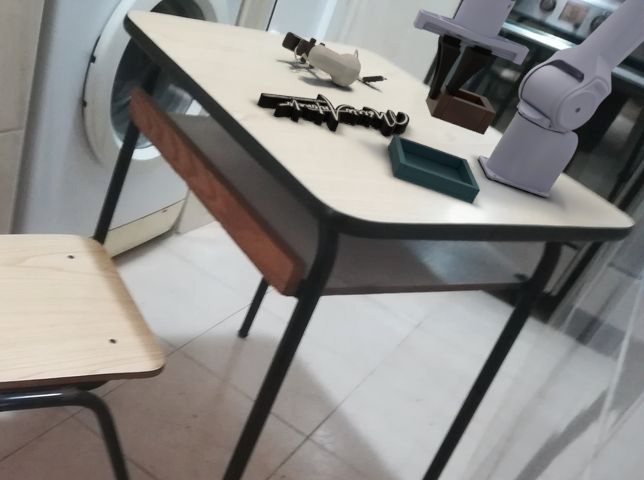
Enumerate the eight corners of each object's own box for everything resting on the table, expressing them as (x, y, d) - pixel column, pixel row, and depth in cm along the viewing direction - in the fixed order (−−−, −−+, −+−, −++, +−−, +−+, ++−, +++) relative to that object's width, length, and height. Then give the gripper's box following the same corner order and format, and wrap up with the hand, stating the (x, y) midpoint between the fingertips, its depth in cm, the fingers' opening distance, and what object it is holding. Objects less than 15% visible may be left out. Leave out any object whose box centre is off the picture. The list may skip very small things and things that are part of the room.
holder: (459, 172, 97) (466, 159, 96) (472, 203, 89) (480, 190, 87) (387, 147, 96) (394, 134, 95) (393, 176, 88) (400, 162, 87)
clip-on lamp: (342, 85, 126) (273, 51, 115) (360, 51, 123) (291, 13, 112) (382, 107, 118) (312, 73, 107) (402, 71, 115) (332, 33, 104)
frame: (474, 118, 94) (486, 97, 92) (483, 135, 89) (496, 113, 87) (425, 100, 94) (436, 79, 92) (430, 116, 89) (442, 94, 87)
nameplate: (389, 102, 109) (429, 130, 103) (385, 111, 110) (424, 140, 104) (252, 85, 96) (287, 117, 90) (248, 96, 97) (283, 128, 91)
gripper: (541, 5, 85) (482, 107, 94) (434, -33, 85) (385, 73, 93) (555, 16, 80) (491, 124, 88) (441, -24, 79) (388, 88, 88)
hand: (437, 99), depth 90 cm, fingers closed on frame
